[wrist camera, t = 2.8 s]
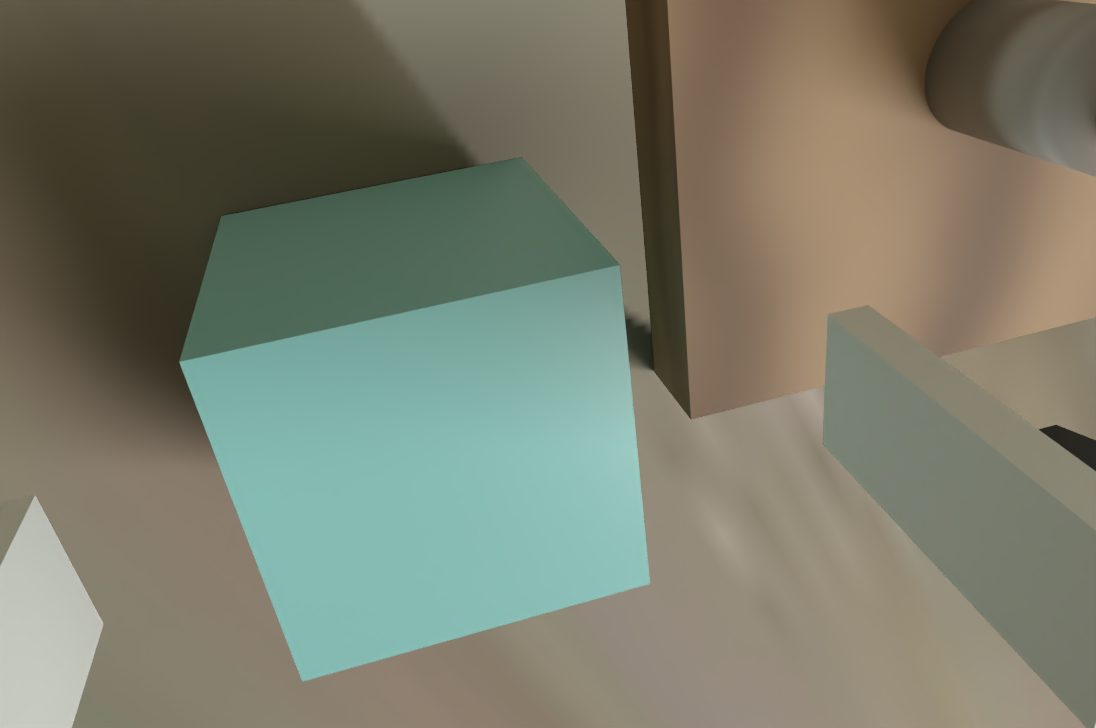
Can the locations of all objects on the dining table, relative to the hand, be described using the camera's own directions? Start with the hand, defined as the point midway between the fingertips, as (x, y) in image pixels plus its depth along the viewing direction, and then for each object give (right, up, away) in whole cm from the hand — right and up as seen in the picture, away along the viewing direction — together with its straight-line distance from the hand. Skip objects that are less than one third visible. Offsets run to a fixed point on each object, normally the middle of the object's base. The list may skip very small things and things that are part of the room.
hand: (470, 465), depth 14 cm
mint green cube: (-2, +3, +6) cm, 7 cm away
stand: (+10, +9, +6) cm, 15 cm away
